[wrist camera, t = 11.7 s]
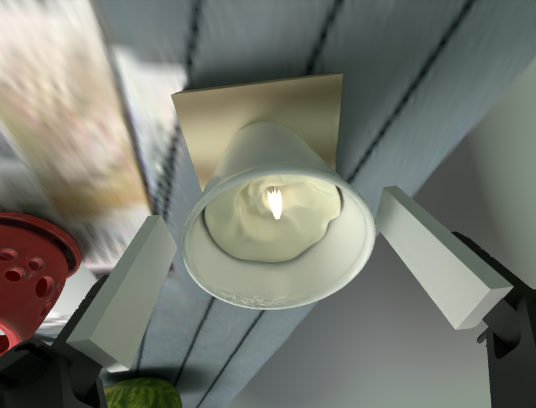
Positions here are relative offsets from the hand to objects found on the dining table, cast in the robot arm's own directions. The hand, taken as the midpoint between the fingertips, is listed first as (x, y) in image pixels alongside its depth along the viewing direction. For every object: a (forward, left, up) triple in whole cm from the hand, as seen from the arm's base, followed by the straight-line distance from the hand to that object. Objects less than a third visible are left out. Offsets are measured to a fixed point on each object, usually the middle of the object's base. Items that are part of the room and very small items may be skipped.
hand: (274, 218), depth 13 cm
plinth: (0, 0, -12) cm, 12 cm away
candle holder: (0, 0, -9) cm, 9 cm away
